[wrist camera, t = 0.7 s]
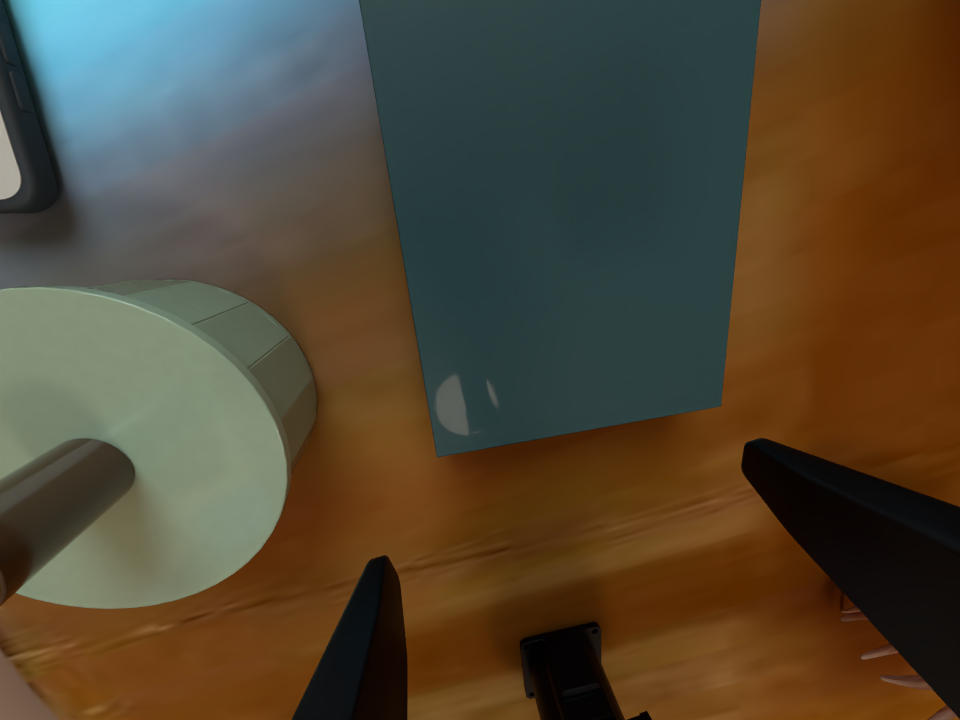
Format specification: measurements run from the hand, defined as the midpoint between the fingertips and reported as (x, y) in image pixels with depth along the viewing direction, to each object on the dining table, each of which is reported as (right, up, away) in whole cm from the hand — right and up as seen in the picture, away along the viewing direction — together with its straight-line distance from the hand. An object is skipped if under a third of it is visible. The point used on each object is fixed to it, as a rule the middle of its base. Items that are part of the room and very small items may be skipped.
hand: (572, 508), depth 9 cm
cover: (-17, 0, +6) cm, 18 cm away
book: (+2, +10, +12) cm, 16 cm away
